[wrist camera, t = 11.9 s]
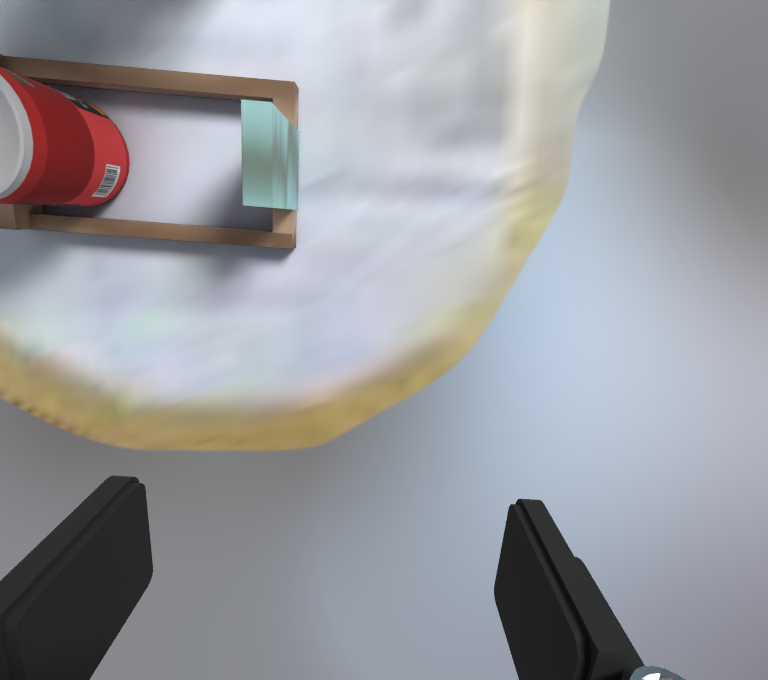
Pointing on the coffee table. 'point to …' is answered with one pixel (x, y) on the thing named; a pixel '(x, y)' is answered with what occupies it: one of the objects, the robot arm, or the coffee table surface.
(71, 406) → the coffee table surface
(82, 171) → the canned food
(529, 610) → the robot arm
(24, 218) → the wooden rectangular frame
